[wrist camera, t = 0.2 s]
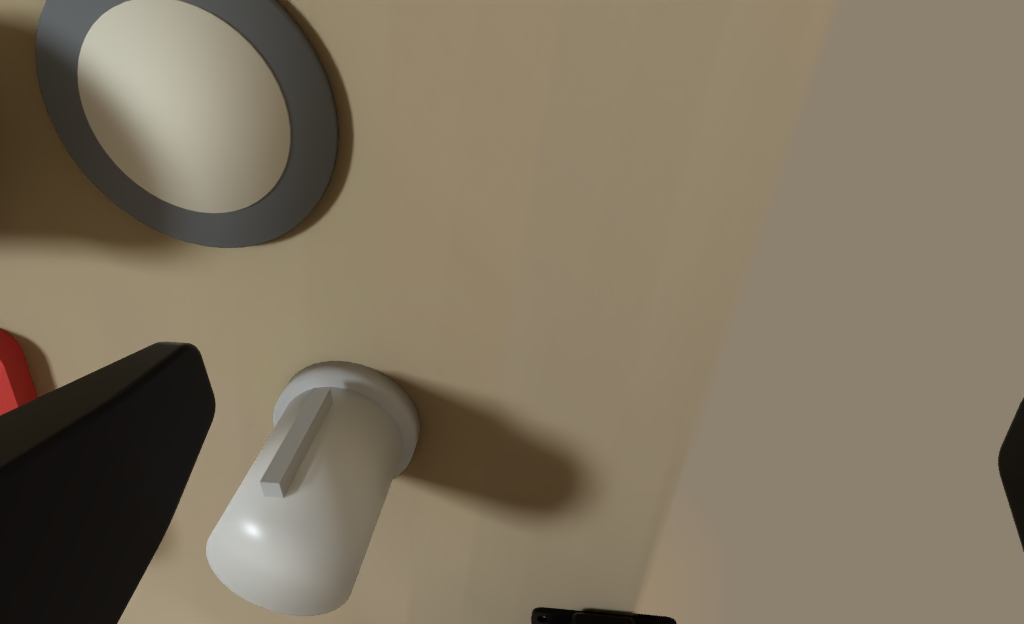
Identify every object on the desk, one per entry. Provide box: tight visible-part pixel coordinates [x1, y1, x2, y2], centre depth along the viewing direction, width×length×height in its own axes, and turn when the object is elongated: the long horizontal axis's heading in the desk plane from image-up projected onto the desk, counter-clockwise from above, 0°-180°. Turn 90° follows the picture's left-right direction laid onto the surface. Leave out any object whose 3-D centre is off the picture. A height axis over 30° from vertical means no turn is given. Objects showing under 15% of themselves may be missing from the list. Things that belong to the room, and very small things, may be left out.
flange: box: [36, 0, 338, 248], centre depth 22 cm, size 9×9×1 cm
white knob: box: [206, 361, 420, 616], centre depth 25 cm, size 6×5×7 cm
